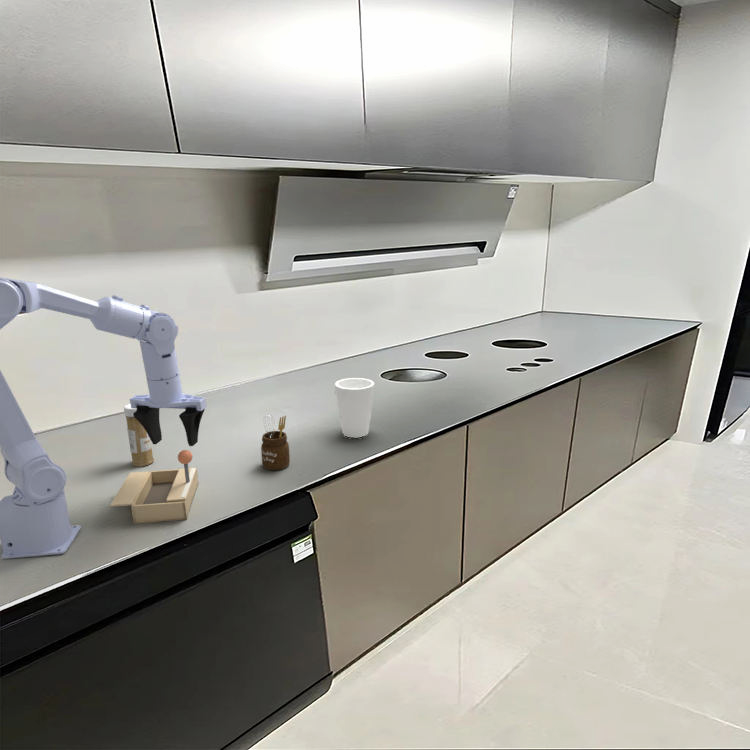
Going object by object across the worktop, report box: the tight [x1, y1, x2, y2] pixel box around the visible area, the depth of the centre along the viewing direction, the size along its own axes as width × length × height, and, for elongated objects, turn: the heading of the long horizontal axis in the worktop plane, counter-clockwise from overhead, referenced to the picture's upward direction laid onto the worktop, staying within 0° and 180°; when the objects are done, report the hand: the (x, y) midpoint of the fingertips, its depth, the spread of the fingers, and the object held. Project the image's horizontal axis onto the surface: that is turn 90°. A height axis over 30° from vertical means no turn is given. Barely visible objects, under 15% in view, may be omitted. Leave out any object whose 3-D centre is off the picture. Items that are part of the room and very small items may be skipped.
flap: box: [166, 449, 198, 502], centre depth 104 cm, size 4×13×7 cm, turn 9°
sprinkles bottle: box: [123, 403, 155, 468], centre depth 120 cm, size 5×5×13 cm
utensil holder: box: [260, 414, 291, 471], centre depth 119 cm, size 6×6×12 cm
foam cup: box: [334, 377, 375, 438], centre depth 136 cm, size 10×9×13 cm
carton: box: [109, 468, 199, 525], centre depth 104 cm, size 13×14×4 cm
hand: (175, 443), depth 106 cm, fingers open, 7 cm apart
